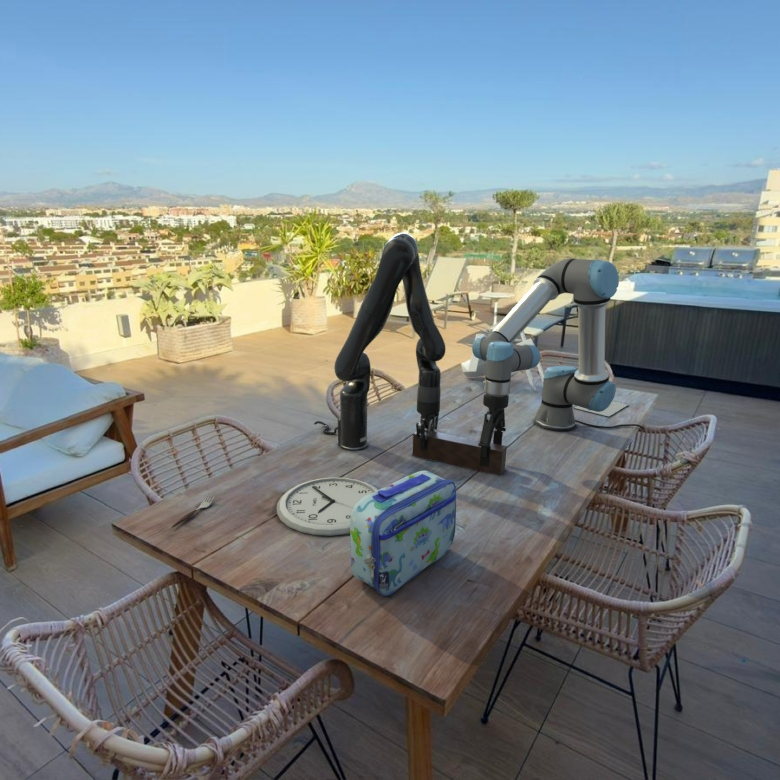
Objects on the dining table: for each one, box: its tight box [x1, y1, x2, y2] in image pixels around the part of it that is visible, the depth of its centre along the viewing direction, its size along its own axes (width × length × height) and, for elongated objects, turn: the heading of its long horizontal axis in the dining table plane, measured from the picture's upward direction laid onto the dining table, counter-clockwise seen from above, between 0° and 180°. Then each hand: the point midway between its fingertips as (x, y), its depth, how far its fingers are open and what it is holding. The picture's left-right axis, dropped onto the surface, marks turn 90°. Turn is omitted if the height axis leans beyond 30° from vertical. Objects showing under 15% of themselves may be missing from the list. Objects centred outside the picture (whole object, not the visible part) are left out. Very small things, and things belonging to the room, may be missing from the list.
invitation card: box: [573, 400, 629, 418], centre depth 226 cm, size 21×1×15 cm
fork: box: [171, 493, 217, 529], centre depth 137 cm, size 3×16×2 cm, turn 160°
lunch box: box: [349, 470, 457, 597], centre depth 114 cm, size 26×11×21 cm, turn 134°
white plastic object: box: [460, 307, 545, 391], centre depth 258 cm, size 37×45×31 cm
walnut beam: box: [412, 431, 507, 476], centre depth 169 cm, size 30×5×8 cm, turn 63°
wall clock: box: [276, 476, 380, 537], centre depth 142 cm, size 30×2×30 cm
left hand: (426, 446), depth 174 cm, fingers closed on walnut beam, 5 cm apart
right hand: (490, 457), depth 164 cm, fingers open, 13 cm apart
